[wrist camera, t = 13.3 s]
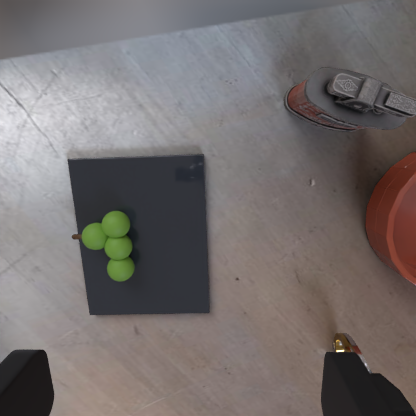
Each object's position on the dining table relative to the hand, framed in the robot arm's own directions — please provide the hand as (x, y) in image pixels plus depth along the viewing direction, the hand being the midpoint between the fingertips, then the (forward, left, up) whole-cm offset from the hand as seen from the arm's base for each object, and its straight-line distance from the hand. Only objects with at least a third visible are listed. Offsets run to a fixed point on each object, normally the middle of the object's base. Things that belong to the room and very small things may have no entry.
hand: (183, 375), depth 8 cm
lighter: (-9, +12, -24) cm, 28 cm away
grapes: (+4, -8, -22) cm, 23 cm away
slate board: (+4, -7, -24) cm, 25 cm away
